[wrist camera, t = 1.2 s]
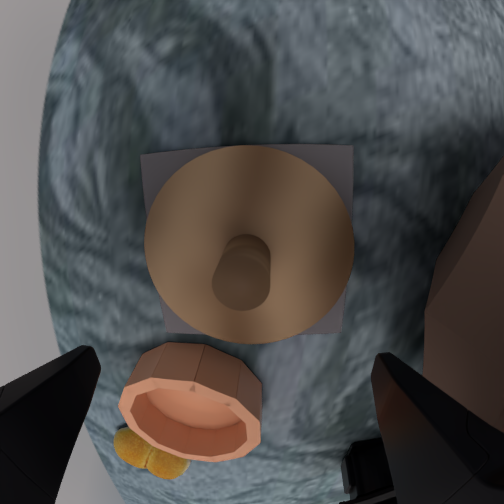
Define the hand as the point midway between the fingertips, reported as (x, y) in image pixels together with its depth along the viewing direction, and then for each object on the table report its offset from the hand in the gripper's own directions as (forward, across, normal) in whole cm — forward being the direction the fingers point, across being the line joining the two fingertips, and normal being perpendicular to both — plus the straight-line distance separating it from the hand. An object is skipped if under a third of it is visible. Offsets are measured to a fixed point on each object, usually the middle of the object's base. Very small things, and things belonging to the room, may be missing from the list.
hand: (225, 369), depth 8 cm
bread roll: (+11, +12, +24) cm, 29 cm away
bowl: (+11, +5, +13) cm, 17 cm away
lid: (+10, 0, 0) cm, 10 cm away
